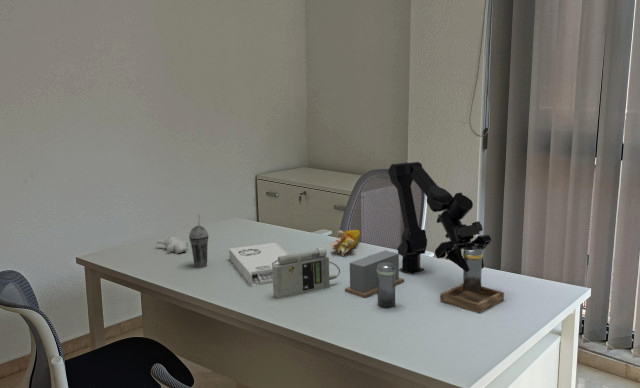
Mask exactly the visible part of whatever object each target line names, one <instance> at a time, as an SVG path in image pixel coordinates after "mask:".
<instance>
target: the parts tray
mask: <svg viewBox="0 0 640 388" xmlns="http://www.w3.org/2000/svg"><path fill="white" fill-rule="evenodd" d="M439 296H440V302H441V303H444V304H447V305H451V306H454V307H457V308H460V309H464V310H467V311H470V312H474V313H476V314H477V313H478V314H480V313H482V312H483V311H486V310H488V309H490V308H491V306H492V307H493V306H495V305H497V304H499V303H501V302H503V301H504V300H505V299H504V296H505V292H504V291H501V290H496V289H493V288H489V287H486V286H482V285H481V290H480V291H476V292H470V291H466V290H464V289H463V283H461V284H458V285H457V286H454V287H452V288H450V289H447V290H446V291H443V292H442V293H440V295H439Z"/></svg>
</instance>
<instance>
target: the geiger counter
mask: <svg viewBox="0 0 640 388" xmlns="http://www.w3.org/2000/svg"><path fill="white" fill-rule="evenodd" d="M327 254H328V251H327V248H326V247H325V246H323V247H319V248H316V249H312V250H306V251H302V252H296V253H295V252H294V253H290V254H289V255H284V256H279V257H278V260H276V261H275V262H273V263H272V270H273V283H272V287H273V288H272V289H273V297H274V298H276V299H281V298H288V297H291V296H297V295H300V294H301V295H302V294H306V293H311V292H314V291H319V290H323V289H329V288H330V287H331V286H330V284H331V283H330V281H332V280H334V279H337V278H338V276H340V274H341V270H340V267H339V266H338V264H336V263H334V262H332V261H330V257H329V256H328V255H327ZM277 261H278V262H279V264H274V263H276V262H277ZM330 264H332V265H334V266H335V267H336V268H337V270H338V274H337V275H336V274H335V275H330Z"/></svg>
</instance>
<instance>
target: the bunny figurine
mask: <svg viewBox="0 0 640 388" xmlns="http://www.w3.org/2000/svg"><path fill="white" fill-rule="evenodd" d="M156 244H159V245H164V246H165V249H166V252H170V253H171V252H174V253H175V254H180V253H185V252H187V251H189V242H188V241H187V240H181V239H180V238H179V237H178V236H168V238H165V240H164V239H161V238H160V239H157V241H156Z"/></svg>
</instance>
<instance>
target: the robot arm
mask: <svg viewBox="0 0 640 388" xmlns="http://www.w3.org/2000/svg"><path fill="white" fill-rule="evenodd" d="M388 176H389V178H390V179H389V180H390V182H391V184H392V185H393V186H394V187H395V188H396V190H397V195H398V201H399V207H400V211H401V216H402V221H403V227H404V228H403V232H402V233H401V234H402V235H401V243H400V244H399V246H398V247H397V253H398V254H399V256H401V257H402V259H401V260H402V261H401V266H402V267H401V268H400V267H399V272H400V271H401V272H404V273H406V274H407V273H408V274H411V275H415V274H416V273H420V272H421V271H424V270H425V268H423V267H421V255H423V254H425V253H426V249H427V246H428V238H427V233H426V230H425V229H422V228H421V227H420V226H419V223H418V218H417V212H416V207H415V200H414V197H413V191H412V190H413V189H412V183H413V181H414V182H415V184H416V185H418V187H419V188H420V189H421V191H422V192H423V193H424V195H425V196H426V203H427V205H428V207H429V209H430V210H431V211H432V212H433V213H438V212H441V213H440V214H437V219H436V223H437V224H441V225H442V226H443V228H444V230H445V232H446V234H445V238H446V239H449V241H444V242H443V241H442V242H440V243H439V244H438V246H437V247H436V248H435V250H434V255H435V256H436V258H437V259H443V258H445V260H449V261H451V262H453V264H455V265H456V266H458V267H459V268H461V269H462V270H464V271H466V272H468V271H469V269H468V267H467V264H466V262H465V260H464V257H463V254H462V250H464V248H465V247H468V246H476V247H480V248H482V251H483V250H485V249H486V248H487V247H488V246H489V245H490V244H491V243H492V242H493V240H492V237H491V236H490V235H489V234H481V235H480V232H482V231H483V229H484V228H483V225H482V224H481V222H480V221H474V222H471V225H467V224H465V223H464V224H463V222H462V221H461V220H463V219H464V218H465V217H466V216H467V215H468V214H469V212H470V211H471V210H472V209H473V208H474V207H473V206H474V203H473V201H472V199H470V198H469V197H468V196H466V195H464V194H463V193H462V192H457V193H455V194H454V196H453V195H452V193H450V192H449V191H448V190H447V189H445V188H443V187H440V186H439V185H437V183H436V182H435V181H434V180H433V178H432V177H431V176H430V175H429V173H428V172H427V171H426V170H425V168H424V167H423V165H422V163H421V162H419V161H412V162H399V163H398V162H397V163H392V164H391V165H390V167H389V168H388ZM475 235H478V236H477V237H475ZM474 238H475V239H474ZM483 257H484V254H482V270H483V269H484V267H485V265H484V258H483Z"/></svg>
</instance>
